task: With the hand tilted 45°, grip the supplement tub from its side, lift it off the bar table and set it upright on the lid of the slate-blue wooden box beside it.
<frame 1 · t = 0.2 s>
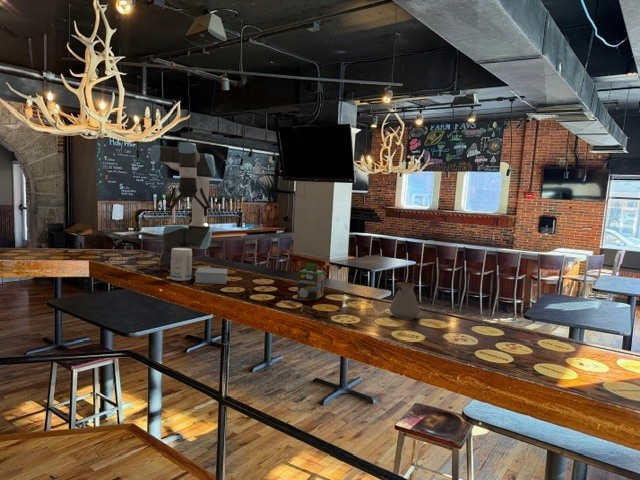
hand: (188, 223, 204), 27 cm above the worktop, tool pointing down, fingers open, 13 cm apart
supplement tub: (180, 279, 210), on the worktop
slate-blue box: (211, 280, 212), on the worktop
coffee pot: (400, 320, 161), on the worktop
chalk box: (310, 297, 190), on the worktop
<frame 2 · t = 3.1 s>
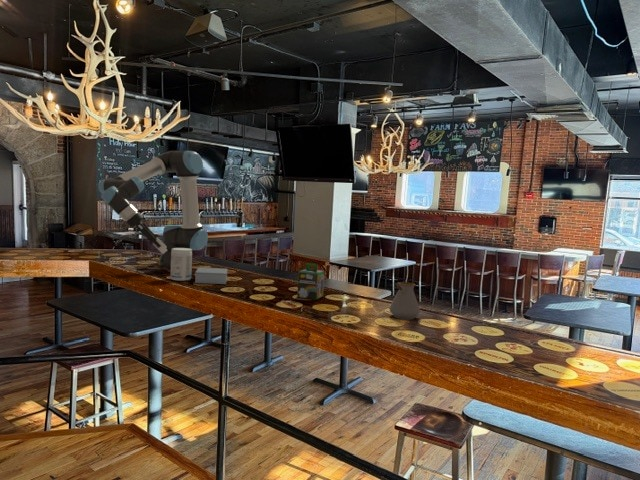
hand: (165, 250, 206), 14 cm above the worktop, tool tilted 45°, fingers open, 13 cm apart
nothing on the worktop moved.
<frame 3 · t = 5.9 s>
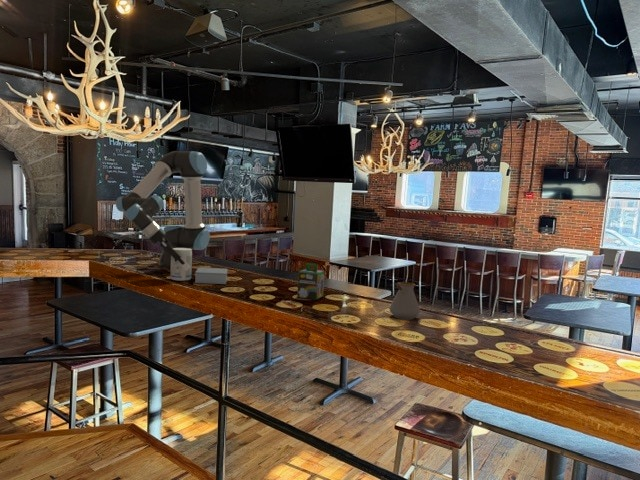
hand: (187, 267, 211), 6 cm above the worktop, tool tilted 45°, fingers closed on supplement tub, 9 cm apart
supplement tub: (180, 279, 210), on the worktop, touching gripper
everything else where it was.
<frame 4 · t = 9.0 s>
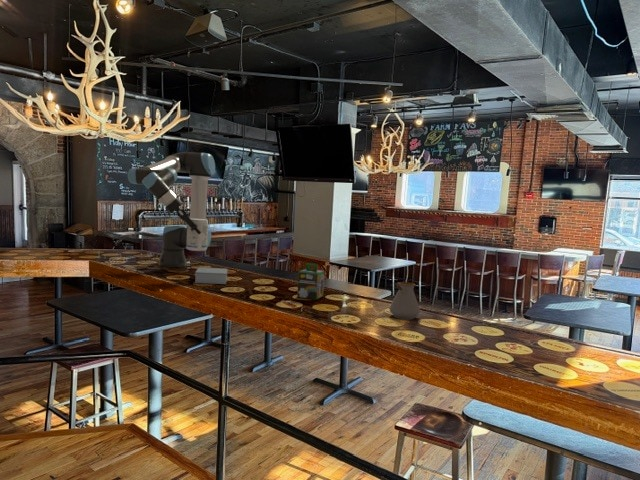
hand: (203, 237, 209), 21 cm above the worktop, tool tilted 45°, fingers closed on supplement tub, 9 cm apart
supplement tub: (196, 250, 209), point 15 cm above the worktop, touching gripper
everything else where it was.
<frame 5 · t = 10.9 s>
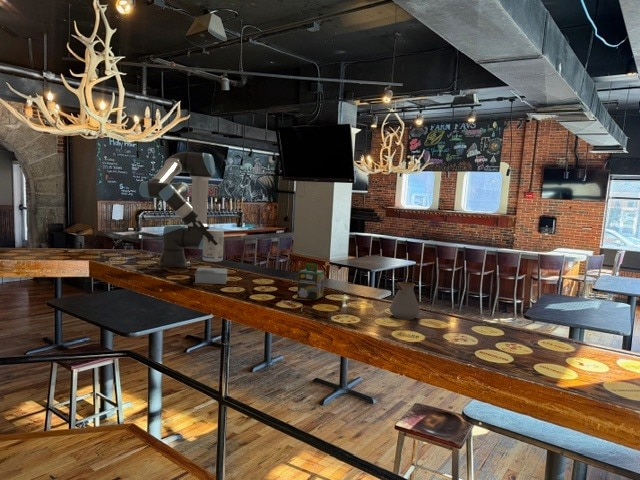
hand: (219, 248, 212), 16 cm above the worktop, tool tilted 45°, fingers closed on supplement tub, 9 cm apart
supplement tub: (212, 260, 211), point 10 cm above the worktop, touching gripper
everything else where it was.
when the fingers open (12 cm above the worktop, at t = 12.2 s): supplement tub drops 1 cm, resting on slate-blue box.
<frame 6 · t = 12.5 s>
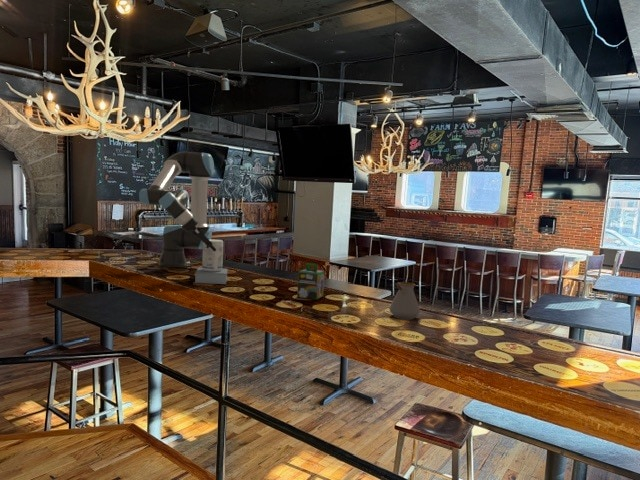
hand: (218, 254, 212), 13 cm above the worktop, tool tilted 45°, fingers open, 13 cm apart
supplement tub: (212, 270, 212), point 5 cm above the worktop, touching slate-blue box
everything else where it was.
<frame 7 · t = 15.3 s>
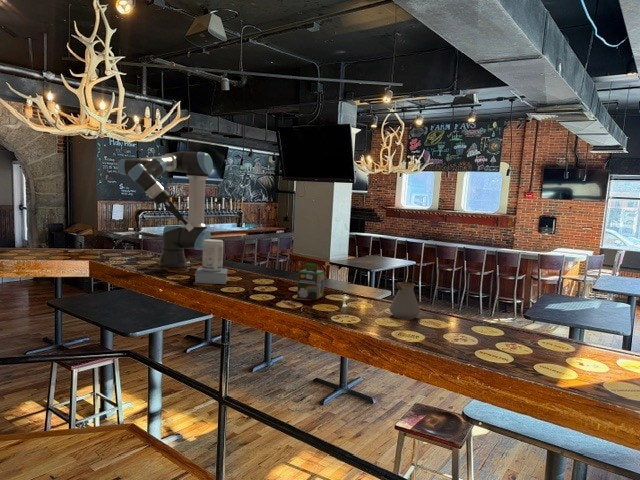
hand: (190, 228, 207), 25 cm above the worktop, tool tilted 45°, fingers open, 13 cm apart
nothing on the worktop moved.
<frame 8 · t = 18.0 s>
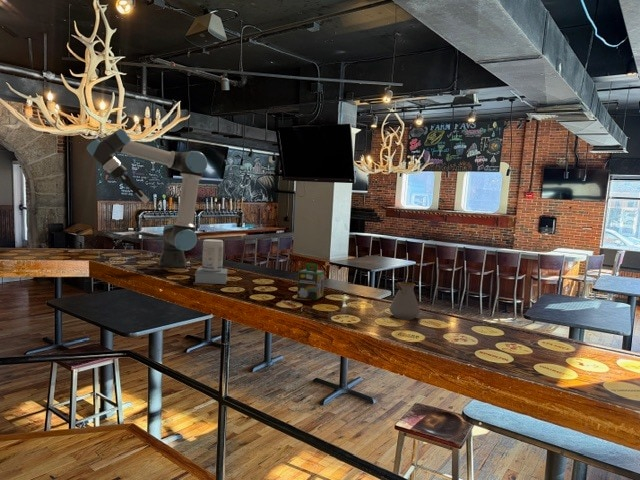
hand: (147, 201, 220), 36 cm above the worktop, tool tilted 45°, fingers open, 13 cm apart
nothing on the worktop moved.
at the end: supplement tub inside the target area on the slate-blue box (0.2 cm from its centre), point 4.8 cm above the slate-blue box's base; supplement tub tilted 0°; the gripper is holding nothing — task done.
